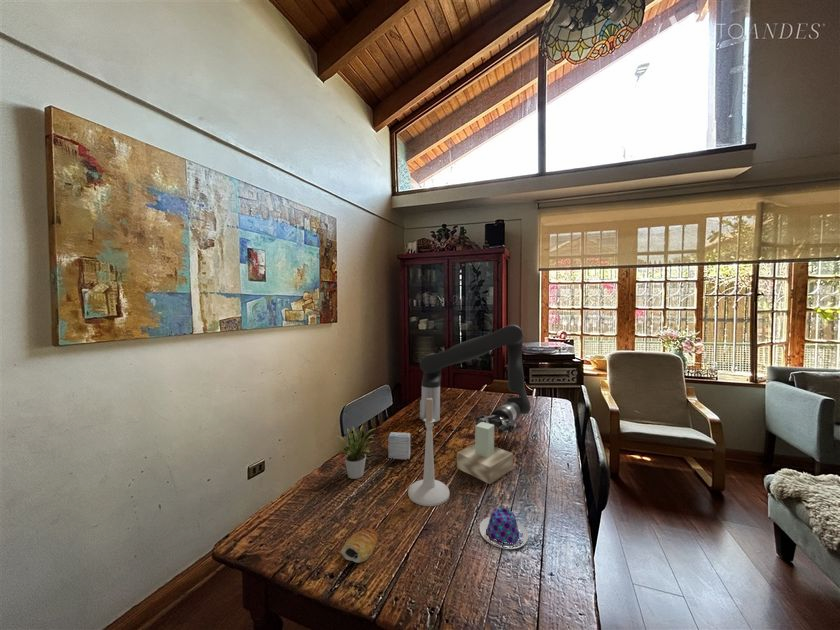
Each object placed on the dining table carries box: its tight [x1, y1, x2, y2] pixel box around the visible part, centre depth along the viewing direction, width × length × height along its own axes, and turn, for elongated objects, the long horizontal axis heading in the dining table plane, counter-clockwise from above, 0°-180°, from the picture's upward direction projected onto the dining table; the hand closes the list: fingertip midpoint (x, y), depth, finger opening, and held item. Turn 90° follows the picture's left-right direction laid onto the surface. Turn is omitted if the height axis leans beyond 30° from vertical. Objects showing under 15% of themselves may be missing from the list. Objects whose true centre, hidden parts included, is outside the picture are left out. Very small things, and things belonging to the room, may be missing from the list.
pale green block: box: [474, 422, 495, 458], centre depth 113 cm, size 5×5×10 cm
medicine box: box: [387, 431, 411, 460], centre depth 122 cm, size 8×4×9 cm, turn 84°
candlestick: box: [407, 397, 451, 507], centre depth 98 cm, size 13×13×30 cm
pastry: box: [340, 527, 379, 564], centre depth 76 cm, size 9×7×4 cm
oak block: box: [456, 443, 514, 485], centre depth 114 cm, size 14×14×6 cm
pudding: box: [478, 507, 529, 550], centre depth 82 cm, size 12×12×5 cm
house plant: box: [334, 424, 377, 480], centre depth 109 cm, size 14×14×16 cm
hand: (487, 428), depth 116 cm, fingers open, 8 cm apart
